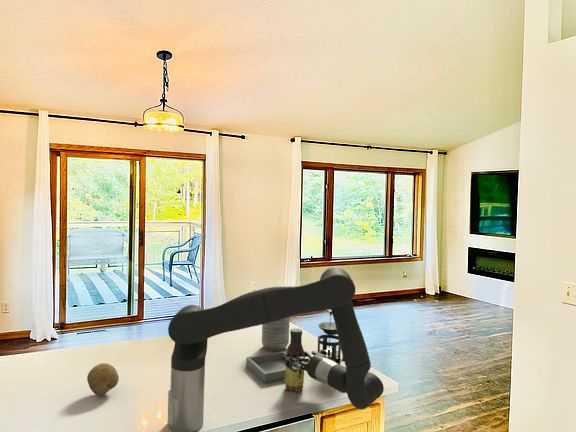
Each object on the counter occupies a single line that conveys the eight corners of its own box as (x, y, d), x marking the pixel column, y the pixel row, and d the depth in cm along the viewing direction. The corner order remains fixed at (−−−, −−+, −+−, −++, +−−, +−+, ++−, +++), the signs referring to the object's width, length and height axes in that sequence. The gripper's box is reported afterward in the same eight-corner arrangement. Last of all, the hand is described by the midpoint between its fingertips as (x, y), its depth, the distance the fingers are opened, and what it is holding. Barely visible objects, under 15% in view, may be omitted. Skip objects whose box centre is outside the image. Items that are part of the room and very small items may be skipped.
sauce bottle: (301, 393, 138) (303, 334, 137) (283, 391, 139) (285, 332, 138) (304, 384, 144) (306, 328, 144) (287, 382, 146) (289, 326, 145)
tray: (264, 383, 144) (264, 374, 144) (246, 366, 158) (246, 357, 158) (303, 375, 152) (304, 366, 152) (283, 359, 166) (283, 351, 166)
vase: (257, 350, 175) (259, 296, 174) (266, 341, 186) (268, 290, 185) (283, 354, 172) (285, 299, 170) (291, 345, 183) (293, 293, 182)
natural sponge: (109, 385, 139) (110, 356, 138) (123, 394, 133) (124, 363, 132) (82, 395, 132) (82, 364, 131) (95, 404, 126) (96, 372, 125)
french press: (319, 375, 152) (322, 313, 151) (310, 365, 161) (313, 307, 160) (348, 373, 156) (351, 312, 155) (338, 363, 165) (341, 305, 164)
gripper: (341, 354, 135) (307, 339, 148) (308, 363, 126) (274, 347, 139) (340, 376, 135) (306, 360, 148) (307, 388, 126) (274, 369, 139)
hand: (291, 353), depth 143 cm, fingers closed on sauce bottle, 6 cm apart
